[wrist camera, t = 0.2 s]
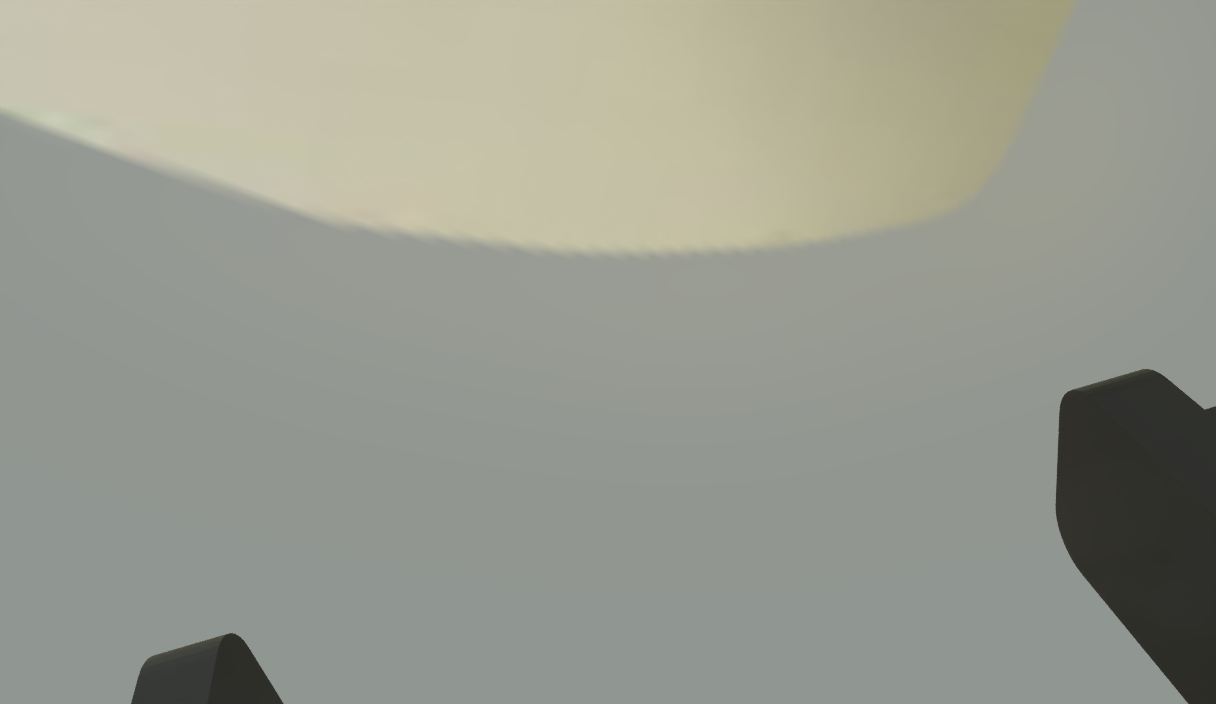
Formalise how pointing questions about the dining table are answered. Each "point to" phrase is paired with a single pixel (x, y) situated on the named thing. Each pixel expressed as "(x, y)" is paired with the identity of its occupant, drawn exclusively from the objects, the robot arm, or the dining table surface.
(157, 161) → the dining table surface
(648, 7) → the dining table surface
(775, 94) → the dining table surface
